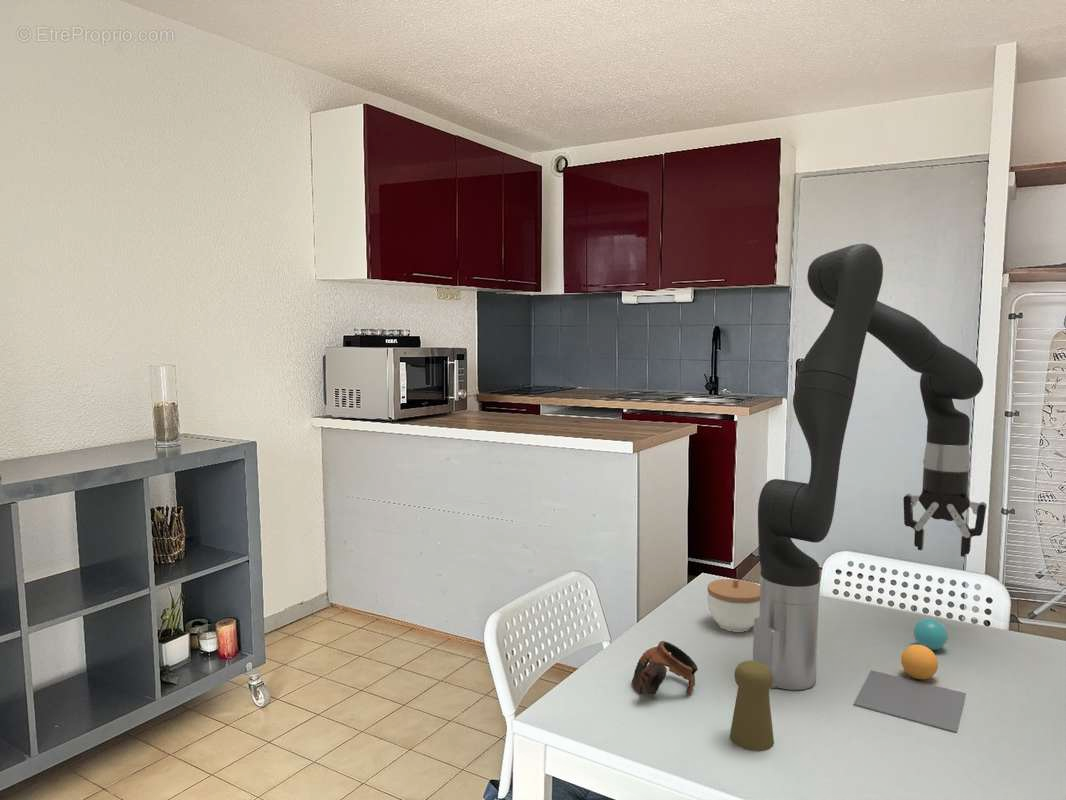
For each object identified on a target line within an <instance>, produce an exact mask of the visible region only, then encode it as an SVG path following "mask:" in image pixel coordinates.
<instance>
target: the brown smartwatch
mask: <svg viewBox="0 0 1066 800" xmlns="http://www.w3.org/2000/svg"><path fill="white" fill-rule="evenodd" d="M667 668H669V669H667ZM698 670H699V669H698V666H697V664H696V662H695V661H694V660H693V659H692V658H691V657H690V656H689V655H688V654H687V653H686V652H685V651H683V650H682V649H681V648H679V647H678V646H676V645H674V644H673V643H670V642H669V641H668V642H667V641H665V640H661V641H659V643H658V644H657V646H654V647H651V648H648V649H647V650H645V651H644V652H643V653H642V655H641V656H640V658H639V660H638V662H637V663H636V666H635V669H634V673H633V677H632V680H631V684H632V687H633V688H634V690H635V691H636V692H637V693H638V694H639V693H640V694H642V691H644V692H645V693H646V694H648V695H651V696H652V695H653V696H656V695H657V692H658V690H659V688H660V686H661V684H662V683H663V681H664V680H665V679H666V676H667V671H668V672H670V673H673V674H675V675H676V676H679V677H681V678H683V679H684V680H687V681H688V685H687V687H686V688H687V689H686V690H685V691H686V692H685V693H686V695H687V696H690V695H691V694H692V691H694V687H695V684H696V683H695V682H696V681H695V680H696V679H695V674H696V672H698Z"/></svg>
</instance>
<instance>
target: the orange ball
mask: <svg viewBox="0 0 1066 800" xmlns="http://www.w3.org/2000/svg"><path fill="white" fill-rule="evenodd" d="M900 662H901V665H902V668H903V670H904V671H905V673H906V674H907V675H908V676H910V677H912V678H914V679H917V680H927V679H928V680H929V679H930V678H931V679H932V677H934V676H935V675H936V673H937V671H938V668H939V661H938V657H937V655H936V654H935V653H934V652H933V650H930V649H929V648H927V647H925V646H923V645H919V644H911V645H909V646H906V648H905V649H903V651H902V652H901V656H900Z"/></svg>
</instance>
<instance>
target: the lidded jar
mask: <svg viewBox="0 0 1066 800" xmlns="http://www.w3.org/2000/svg"><path fill="white" fill-rule="evenodd" d="M707 602H708V603H707V605H708V609H709V612H710V614H711V616H712V618H713V620H714V621H715V622H716V623H717V624H718V627H720V628H721V629H722V630H724V629H725V631H727V632H731V631H733V632H732V633H745V632H744V631H746V632H748V630H749V629H750V628H752V627H754V619H755V618H758V617H759V609H760V585H759V584H756V583H754V582H752V581H748V580H742V579H737V578H723V579H717V580H713V581H710V582H709V583H708V584H707ZM750 630H751V629H750ZM750 630H749V631H750Z"/></svg>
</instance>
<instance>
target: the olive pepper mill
mask: <svg viewBox="0 0 1066 800" xmlns="http://www.w3.org/2000/svg"><path fill="white" fill-rule="evenodd" d="M734 680H735V684H736V685H737V691H736V697H735V702H734V703H735V704H734V708H733V714H732V715H733V716H732V721H731V727H730V730H729V731H730V733H729V739H730V741H731V742H732V744H734V745H736V747H739V748H741V749H743V750H748V751H750V752H751V751H752V752H765V751H769V750H771V749H772V748H773V747H774V745H775V739H774V731H773V728H774V727H773V721H772V720H773V719H772V711H771V701H770V700H771V699H770V693H769V691H770V690H771V689H772V688H771V686H772V683H773V675H772V671H771V670H770V668H769V667H768V666H766V665H765V664H763V663H760V662H757V661H753V660H746V661H742V662H739V663H738V664H737V666H736V668H735V669H734ZM771 747H772V748H771Z"/></svg>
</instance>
